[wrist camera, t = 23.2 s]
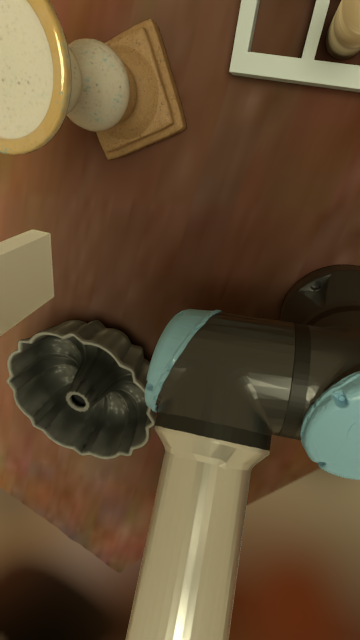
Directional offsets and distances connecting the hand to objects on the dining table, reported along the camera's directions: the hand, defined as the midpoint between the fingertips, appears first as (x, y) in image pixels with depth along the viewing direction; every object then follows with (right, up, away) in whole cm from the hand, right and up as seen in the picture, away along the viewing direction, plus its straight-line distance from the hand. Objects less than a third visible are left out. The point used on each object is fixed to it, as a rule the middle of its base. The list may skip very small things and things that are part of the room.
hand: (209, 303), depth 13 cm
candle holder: (-7, +26, +29) cm, 39 cm away
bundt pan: (-15, -9, +51) cm, 54 cm away
